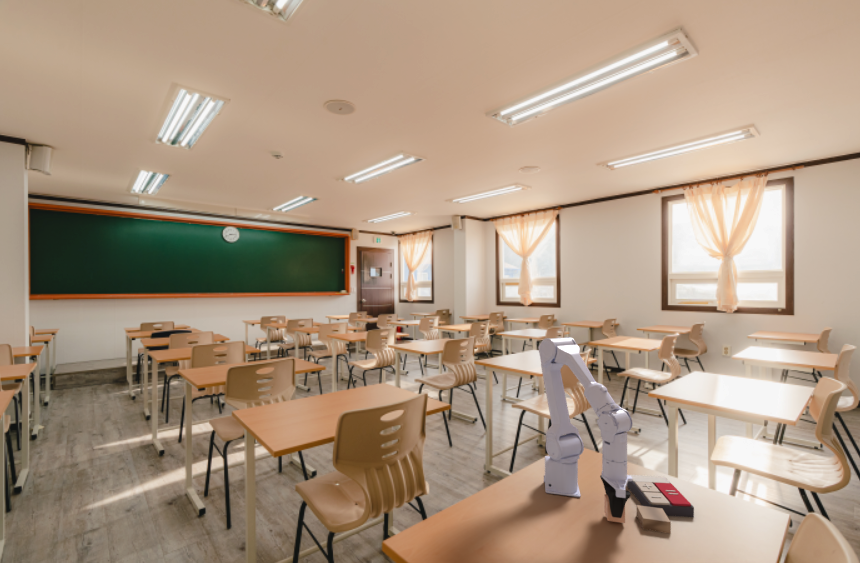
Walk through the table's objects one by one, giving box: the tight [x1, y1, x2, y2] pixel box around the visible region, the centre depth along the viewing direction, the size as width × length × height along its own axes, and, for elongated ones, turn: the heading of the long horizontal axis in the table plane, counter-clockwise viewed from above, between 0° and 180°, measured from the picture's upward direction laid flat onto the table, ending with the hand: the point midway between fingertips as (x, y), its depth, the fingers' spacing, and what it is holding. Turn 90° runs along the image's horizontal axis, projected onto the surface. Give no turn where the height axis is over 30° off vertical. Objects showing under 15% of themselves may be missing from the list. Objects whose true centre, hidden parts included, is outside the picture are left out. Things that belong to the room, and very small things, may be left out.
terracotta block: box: [604, 493, 626, 524], centre depth 99 cm, size 4×4×4 cm
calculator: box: [626, 474, 695, 518], centre depth 108 cm, size 11×4×15 cm
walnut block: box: [636, 504, 672, 534], centre depth 97 cm, size 6×6×3 cm
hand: (614, 511), depth 99 cm, fingers closed on terracotta block, 4 cm apart
